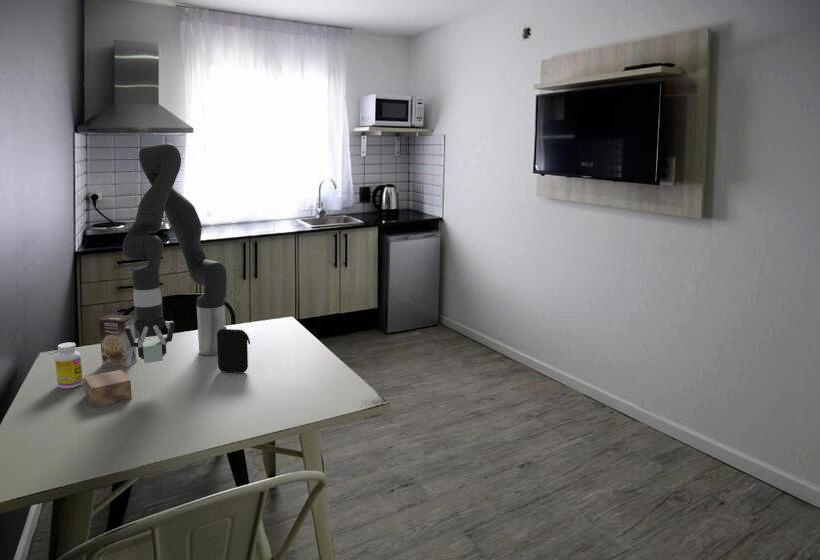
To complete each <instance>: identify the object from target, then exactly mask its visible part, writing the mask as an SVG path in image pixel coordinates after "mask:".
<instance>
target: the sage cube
mask: <svg viewBox="0 0 820 560" xmlns="http://www.w3.org/2000/svg"><path fill="white" fill-rule="evenodd" d="M142 346H143V354H144V359H143V362H144V364H149V363H155V362H161V361H164V359H163V358H164V356H162V344H161V341H160V340H159V339H154V340H147V341H145V340H144V342H143V345H142Z"/></svg>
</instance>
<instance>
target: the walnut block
mask: <svg viewBox="0 0 820 560" xmlns="http://www.w3.org/2000/svg"><path fill="white" fill-rule="evenodd" d="M83 383H84V391H85V393H84V394H85V396H86V399H87V400H88V401H89V403H90V404H91V406H92V407H93V408H98V407H103V406H106V405H110V404H115V403H120V402H124V401H128V400H132V399H133V397H132V382H131V379H130V378H129V376H127V375H126V374H125V372H123V370H122V369H117V370H112V371H108V372H102V373H98V374H97V373H96V374H91V375H88V376H83Z"/></svg>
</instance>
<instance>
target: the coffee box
mask: <svg viewBox="0 0 820 560" xmlns="http://www.w3.org/2000/svg"><path fill="white" fill-rule="evenodd" d="M134 323H135V315H126V314H125V315H124V314H114V313H113V314H112V313H111V314H110V313H109V314H107V315H105V316H103V317H100V318H99V319H98V326H99V341H100V351H101V352H100V353H101V365H102V366H107V367H108V366H109V367H117V368H118V367H119V368H129V366H131V365H133V364H134V363H136V362H137V361H138V360H137V359H138V358H137V347H135V346H134V347H132V346H131V344H130V342H129V339H128V337H127V334H126V332H125V326H131V325H134ZM133 331H134V332H133V333H132V336H133V339H134V341H136V329H134V330H133Z"/></svg>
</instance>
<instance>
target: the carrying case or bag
mask: <svg viewBox="0 0 820 560" xmlns="http://www.w3.org/2000/svg"><path fill="white" fill-rule="evenodd" d="M248 345H251V341H250V337H249V335H248V333H246V331H244V330H243V329H238V328H237V329H236V328H235V329H234V328H231V329H230V328H227V329H220V330H219V331H218V332H217V351H218V355H217V366H218V370H219V371H220V372H222V373H234V372H243V373H245V372H246V371H247V370H248V368H249V360H248V359H249V357H248V356H249V355H248V354H249V353H248V349H249V348H248Z"/></svg>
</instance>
